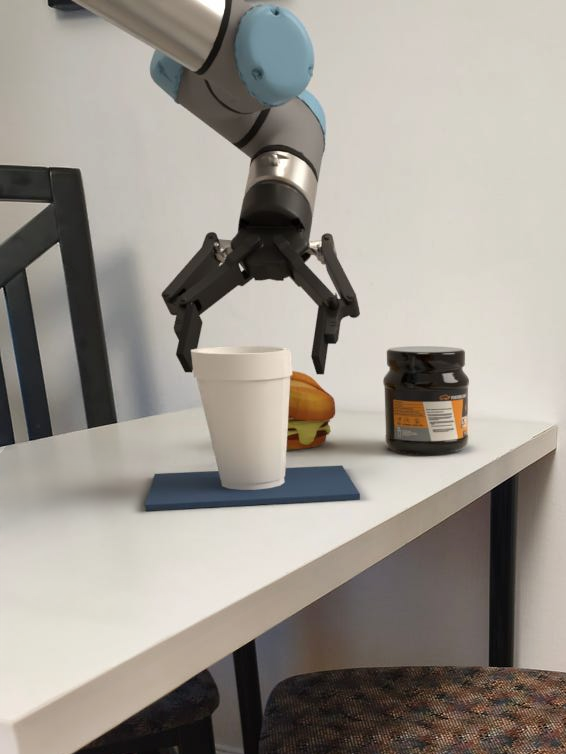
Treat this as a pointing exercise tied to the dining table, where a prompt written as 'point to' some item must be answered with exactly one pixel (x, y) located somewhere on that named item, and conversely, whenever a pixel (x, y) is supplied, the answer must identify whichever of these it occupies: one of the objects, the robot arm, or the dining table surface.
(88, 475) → the dining table surface
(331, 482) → the cup mat
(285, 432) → the foam cup
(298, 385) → the cheeseburger
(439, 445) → the supplement container
